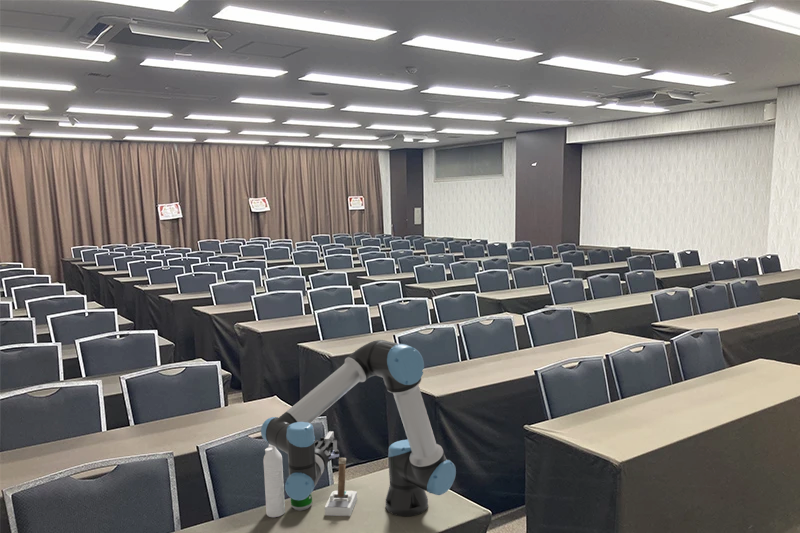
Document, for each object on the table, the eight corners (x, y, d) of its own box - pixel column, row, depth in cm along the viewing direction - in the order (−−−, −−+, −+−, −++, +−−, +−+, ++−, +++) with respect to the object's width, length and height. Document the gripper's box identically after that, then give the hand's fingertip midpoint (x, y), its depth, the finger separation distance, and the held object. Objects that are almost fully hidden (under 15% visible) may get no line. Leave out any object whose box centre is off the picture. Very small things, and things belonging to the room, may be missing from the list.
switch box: (357, 499, 209) (356, 487, 208) (350, 516, 197) (349, 503, 196) (333, 498, 210) (332, 486, 209) (325, 515, 198) (324, 502, 197)
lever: (348, 497, 204) (349, 457, 208) (346, 498, 201) (348, 458, 205) (335, 497, 204) (336, 457, 208) (333, 498, 202) (335, 457, 206)
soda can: (307, 512, 200) (306, 479, 199) (287, 511, 202) (286, 478, 201) (315, 502, 208) (313, 470, 207) (296, 500, 209) (294, 469, 208)
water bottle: (269, 508, 204) (265, 440, 202) (287, 508, 204) (283, 440, 202) (262, 521, 195) (258, 450, 194) (281, 521, 195) (277, 450, 193)
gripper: (291, 477, 169) (313, 446, 193) (334, 477, 168) (351, 446, 191) (290, 452, 169) (312, 424, 192) (333, 453, 167) (350, 424, 190)
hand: (331, 435), depth 191 cm, fingers closed
